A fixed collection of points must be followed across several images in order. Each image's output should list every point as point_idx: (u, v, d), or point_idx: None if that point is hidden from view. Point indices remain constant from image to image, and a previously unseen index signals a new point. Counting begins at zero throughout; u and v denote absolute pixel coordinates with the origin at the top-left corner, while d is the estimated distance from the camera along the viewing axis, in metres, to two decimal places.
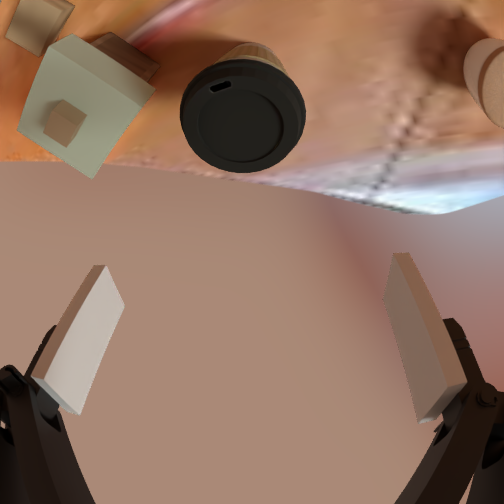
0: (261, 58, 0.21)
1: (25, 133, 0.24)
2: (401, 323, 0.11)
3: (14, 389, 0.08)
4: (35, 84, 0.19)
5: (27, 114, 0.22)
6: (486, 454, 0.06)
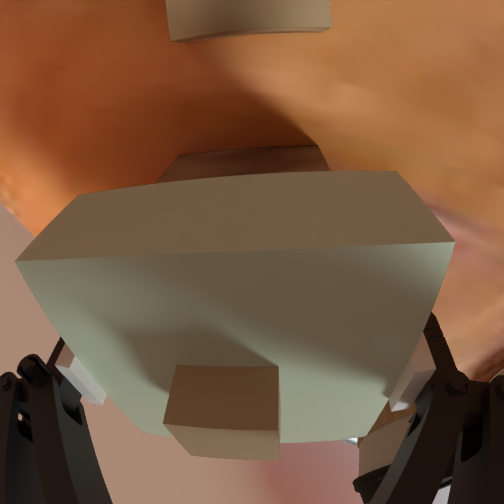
0: None
1: (41, 295, 0.07)
2: None
3: (36, 379, 0.08)
4: (256, 265, 0.06)
5: (99, 282, 0.07)
6: (464, 447, 0.07)
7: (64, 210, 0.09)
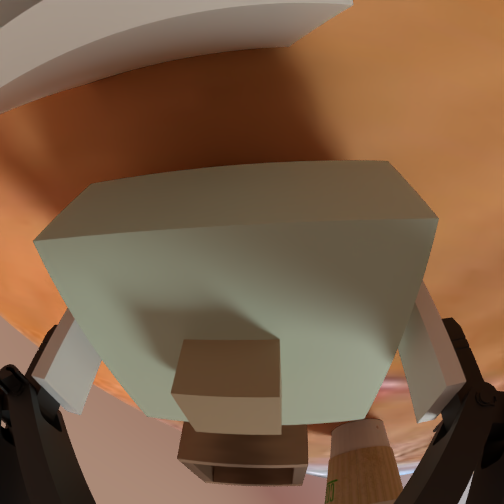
0: None
1: (57, 274, 0.08)
2: None
3: (15, 389, 0.08)
4: (260, 238, 0.07)
5: (115, 257, 0.08)
6: (485, 454, 0.06)
7: (78, 196, 0.10)
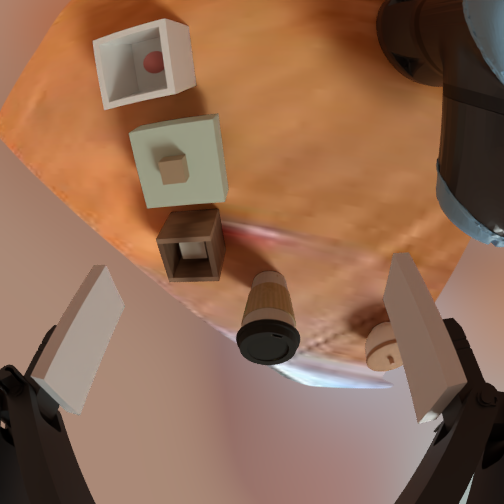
0: (292, 316, 0.47)
1: (133, 141, 0.35)
2: (401, 323, 0.11)
3: (14, 389, 0.08)
4: (178, 126, 0.34)
5: (149, 134, 0.35)
6: (486, 454, 0.06)
7: (137, 127, 0.37)
